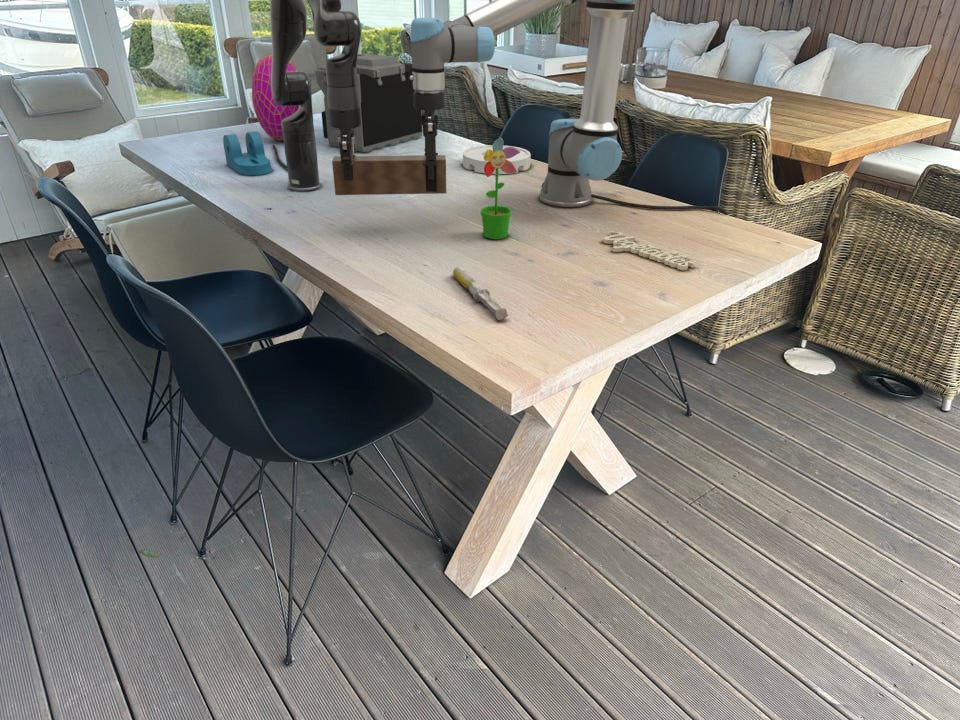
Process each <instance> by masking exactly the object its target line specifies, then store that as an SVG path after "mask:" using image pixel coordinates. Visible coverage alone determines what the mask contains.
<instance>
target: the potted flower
mask: <svg viewBox="0 0 960 720" xmlns="http://www.w3.org/2000/svg"><path fill="white" fill-rule="evenodd" d="M492 145H493V151H492V150H491V149H487V151H486V153H485V155H484V160H485V161H489V162H487V163H486V165H485V167H484V172H485V173H484V174H485V176H486V177H487V178H490V177H491V176H492V175H493V174H492V173H493V172H494V170H495V168H496V174H495V187H494V188H495V190H494V189H493V190H492V189H491V190H488V191H487V192H486V193H485V195H486V197H488V198H490V199H494V205H488V206H484V207H482V208H481V209H480V217H481V221H482V233H483V236H484V237H485V238H487V239H491V240H502V239H505V238H507V237H508V234H509V227H510V222H511V221H510V219H511V217H512V212H513V211H512V209H511V208H509V207H506V206H503V205H498V204H499V202H498V201H499V190H501V189H502V188H503V187H504V185H505V183H504V182H499V174H498V169H499V168H500V169H501V170H502V171H504V172H506V173H511V174H516V173H515V172H517V170H516V168H515V167H514V165H513V164H512V163H511V162H510V161H508V160H505V159H509V158H512V157H514V156H515V155H517V154H519V153H520V151H519V150H518V149H516V148H514V147H515V146H513V147H506V148H504V149H503V145H504V139H503V137H499V138H498V139H496V140H494V141H493V143H492ZM504 146H505V145H504Z"/></svg>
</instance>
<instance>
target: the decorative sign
mask: <svg viewBox="0 0 960 720" xmlns="http://www.w3.org/2000/svg"><path fill="white" fill-rule="evenodd" d="M635 241H636V237H635V236H631V235H630V236H624V233H623V232H619V231H612V230H611V231H609V235H607V236H604V237H603V243H604V244H608V245H612V246H613V247H612V252H614V253H621V252H630V253H632V254H636V255H637V254H638V255H639V256H641V257H642V258H649V260H652V261H655V262H658V263H663V264H664V265H665V266H669V267H671V268H676V269H678V270H680V271H687V270H688V268H691V269H693V268H694V267H695V266H694V265H695V262H694V261H691V260H688V258H689V255H685V254H681V255H679V253H678V252H677V251H667V252H663V251H662V248H660V247H659V246H653V245H651V244H647V245H644V244H640V243H636V242H635Z"/></svg>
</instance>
